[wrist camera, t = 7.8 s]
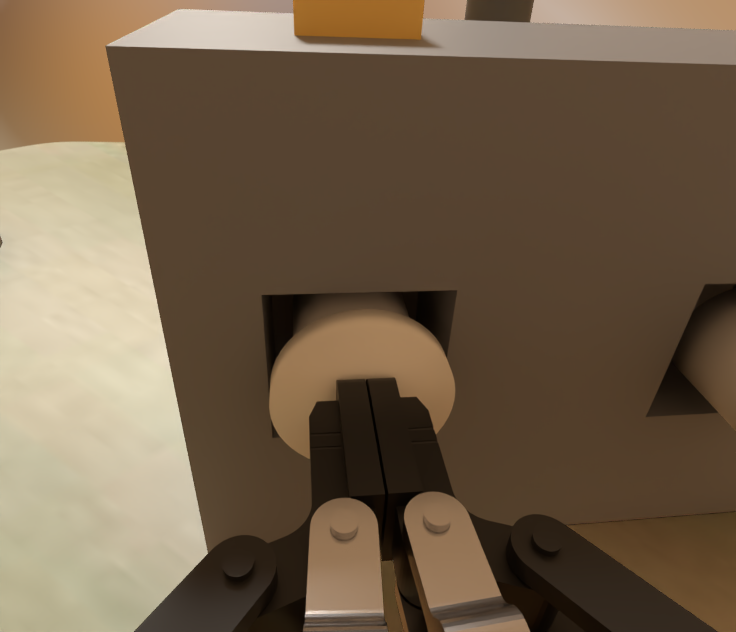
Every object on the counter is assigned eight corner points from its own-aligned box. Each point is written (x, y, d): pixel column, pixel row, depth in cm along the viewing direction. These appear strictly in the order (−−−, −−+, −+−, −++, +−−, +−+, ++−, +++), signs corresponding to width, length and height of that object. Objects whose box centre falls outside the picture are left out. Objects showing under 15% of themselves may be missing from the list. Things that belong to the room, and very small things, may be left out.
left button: (443, 461, 16) (467, 323, 13) (274, 472, 15) (262, 330, 12) (412, 358, 20) (426, 236, 17) (277, 364, 19) (269, 239, 16)
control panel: (775, 507, 22) (1129, 17, 12) (208, 553, 19) (90, -31, 9) (662, 378, 28) (833, -6, 19) (229, 398, 26) (172, -38, 16)
